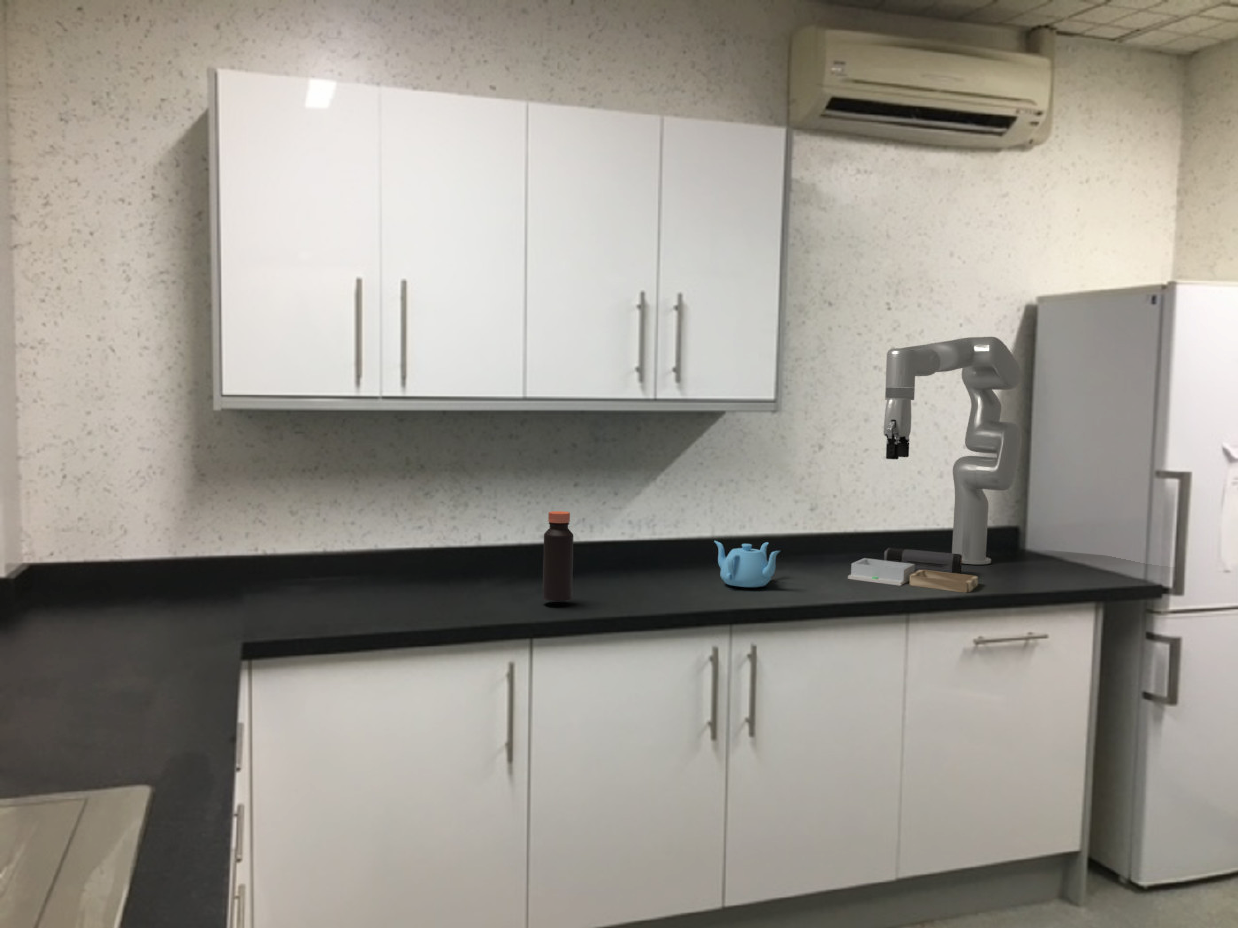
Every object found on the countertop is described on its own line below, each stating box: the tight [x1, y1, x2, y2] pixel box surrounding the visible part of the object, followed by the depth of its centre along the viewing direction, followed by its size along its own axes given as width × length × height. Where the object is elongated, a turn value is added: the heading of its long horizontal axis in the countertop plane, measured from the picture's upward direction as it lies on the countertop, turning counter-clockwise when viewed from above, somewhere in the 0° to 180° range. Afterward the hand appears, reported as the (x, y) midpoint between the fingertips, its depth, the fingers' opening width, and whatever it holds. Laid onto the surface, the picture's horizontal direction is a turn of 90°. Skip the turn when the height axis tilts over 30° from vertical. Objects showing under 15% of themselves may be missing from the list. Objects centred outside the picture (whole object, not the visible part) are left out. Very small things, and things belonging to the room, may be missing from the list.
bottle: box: [542, 510, 574, 602], centre depth 213 cm, size 7×7×20 cm
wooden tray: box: [908, 569, 979, 593], centre depth 242 cm, size 12×15×2 cm
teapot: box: [713, 540, 781, 588], centre depth 237 cm, size 15×15×10 cm
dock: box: [847, 557, 915, 587], centre depth 251 cm, size 16×14×4 cm
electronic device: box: [883, 547, 963, 574], centre depth 258 cm, size 9×6×20 cm
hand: (897, 458), depth 250 cm, fingers open, 9 cm apart
